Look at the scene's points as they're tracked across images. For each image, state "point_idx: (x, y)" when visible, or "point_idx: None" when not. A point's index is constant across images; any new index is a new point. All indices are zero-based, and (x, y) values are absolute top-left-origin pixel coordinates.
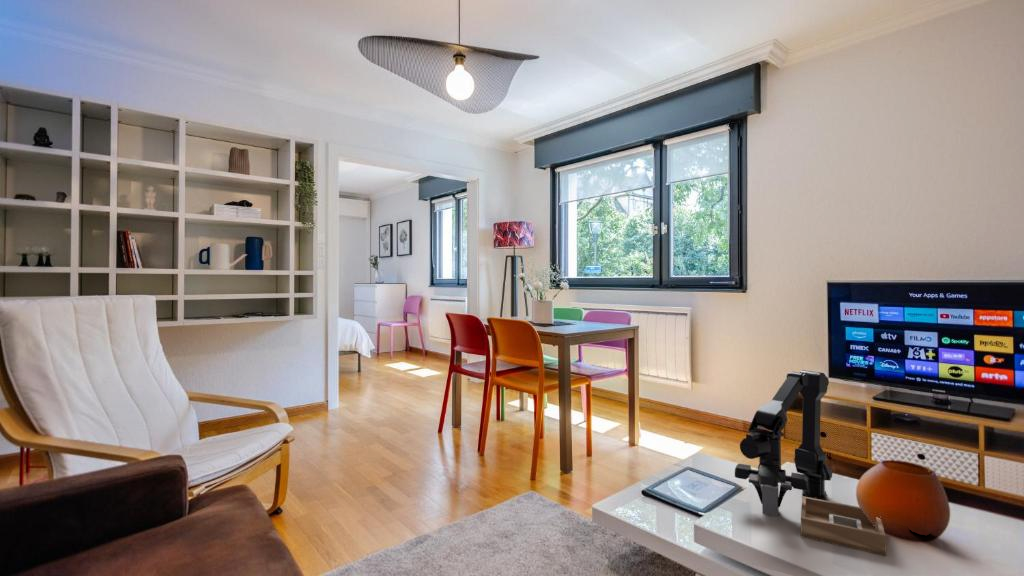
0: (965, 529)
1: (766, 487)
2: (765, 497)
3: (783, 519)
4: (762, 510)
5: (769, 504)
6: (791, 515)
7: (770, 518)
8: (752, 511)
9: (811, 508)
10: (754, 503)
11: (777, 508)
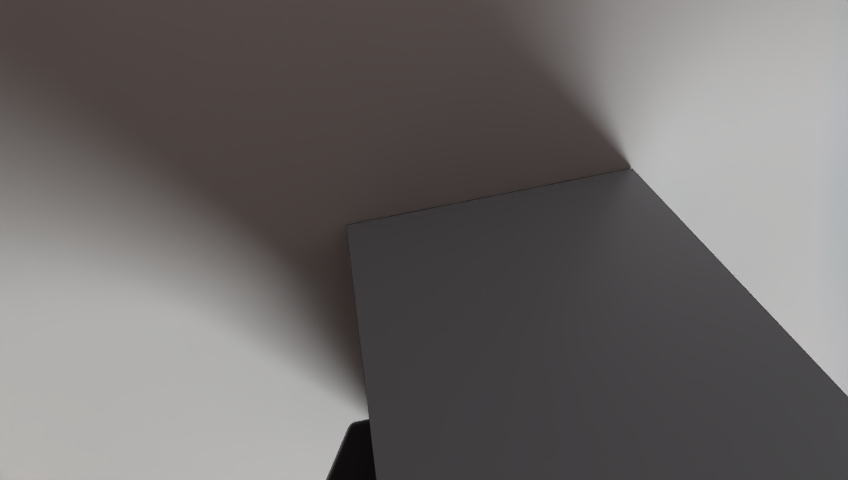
0: None
1: None
2: (758, 426)
3: (208, 157)
4: (653, 191)
5: (567, 318)
6: (164, 421)
7: (446, 9)
8: (815, 105)
9: None
10: None
11: (364, 320)
